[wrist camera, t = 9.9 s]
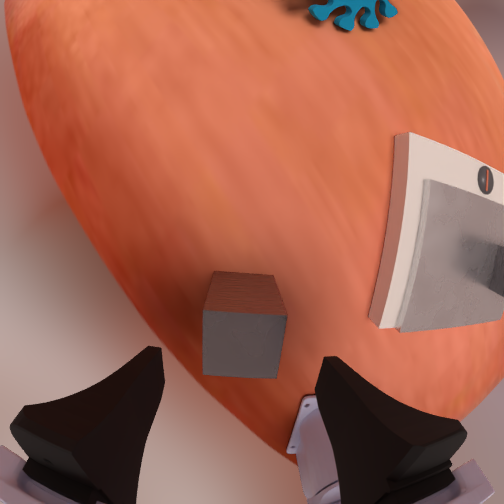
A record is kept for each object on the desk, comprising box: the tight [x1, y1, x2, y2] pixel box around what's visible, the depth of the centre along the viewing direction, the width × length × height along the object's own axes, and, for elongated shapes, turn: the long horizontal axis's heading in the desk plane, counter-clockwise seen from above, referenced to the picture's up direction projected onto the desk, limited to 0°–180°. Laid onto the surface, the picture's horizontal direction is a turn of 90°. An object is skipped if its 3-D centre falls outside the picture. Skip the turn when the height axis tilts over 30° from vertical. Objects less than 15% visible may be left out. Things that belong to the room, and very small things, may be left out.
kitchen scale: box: [368, 132, 504, 333], centre depth 17 cm, size 14×18×3 cm
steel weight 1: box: [203, 271, 287, 378], centre depth 16 cm, size 4×4×6 cm
